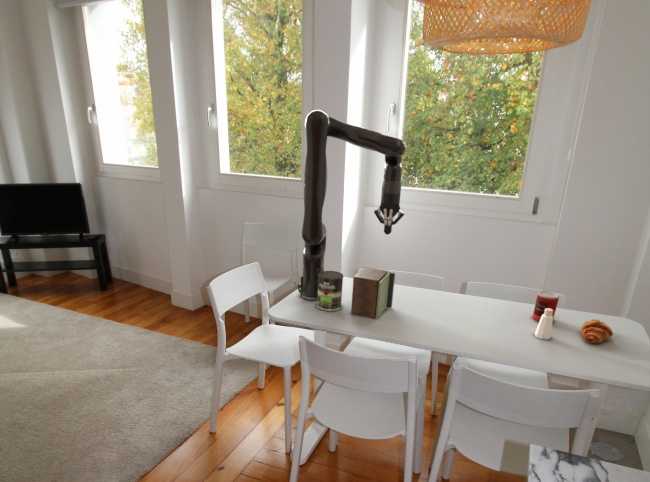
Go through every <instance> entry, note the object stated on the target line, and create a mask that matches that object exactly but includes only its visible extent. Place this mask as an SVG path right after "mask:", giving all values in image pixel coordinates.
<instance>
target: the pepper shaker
mask: <svg viewBox="0 0 650 482" xmlns="http://www.w3.org/2000/svg"><path fill="white" fill-rule="evenodd" d="M552 312H553V310H552V309H550V308H546V309H545V312H544V314H543V315H542V316H541V319H540V321H539V322H538V324H537V327H536V329H535V332H534V336H535V337H536V338H538V339H540V340H546V341H547V340H549V339H551V336H552V329H553V320H554V319H553V316H552Z"/></svg>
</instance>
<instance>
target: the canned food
mask: <svg viewBox="0 0 650 482" xmlns="http://www.w3.org/2000/svg"><path fill="white" fill-rule="evenodd" d="M559 299H560V294H558V293H557V292H554V291H551V290H540V291H538V293H537V296H536V300H535V304H534V309H533V314H532V318H533V320H534V321H536V322H538V323H539V321H540V319H541V316H542V315H543V314H544V312H545V309H546V308H550V309H552V310H553V312H552V316H553V320H554V318H555V315H556V311H557V307H558V303H559Z"/></svg>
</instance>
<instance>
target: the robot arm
mask: <svg viewBox="0 0 650 482" xmlns="http://www.w3.org/2000/svg"><path fill="white" fill-rule="evenodd" d="M304 127H305V134H306V155H305V162H304V171H303V208H304V209H303V211H304V212H303V220H302V230H301V238H302V240H303V242H304V247H303V252H302V275H300V282H299V283H297V291H298V293H299V295H300V296H299V297H300V298H303V300H308V301H318V274H319V273H320V272H323V271H325V256H326V250H327V227H326V225H325V223H323V209H324V205H325V200H326V194H327V189H328V161H327V143H328V137H329V138H335V139H338V140H341V141H344V142H346V143H348V144H351V145H354V146H356V147H359V148H362V149H365V150H367V151H372V152H377V153H378V154H379V153H380V154H382V155H384V169H383V180H382V186H381V196H380V204H379V207H378V208H377V209H375V210H374V211H373V213H374V215H375V216H376V218H377V220H378V221H379V223H380V224H383V232H384V234H385V235H390V234H391V233H392V232H393V231H392V230H393V226H394V225H396V224H398V222H399V221H400V220H401V219H402V218H403V217H404V216H405V215H406V213H405V212H404V211H402V210H401V206H400V202H401V194H402V176H403V165H402V161H403V155H404V154H405V152H406V149H407V147H406V143H405V142H404V141H403V139H400V138H398V137H394V136H390V135H385V134H382V133H381V132H378V131H376V130H373V129H369V128H367V127H363V126H359V125H355V124H352V123H351V124H350V123H346V122H344V121H341V120H338V119H336V118H334V117H332V116H330V115H328V114H327V113H325V112H324V111H323V110H320V109H316V110H315V109H314V110H312V111H311V112H309V113H308V114H307V116H306V118H305V121H304ZM396 215H397V217H396ZM395 217H396V218H395ZM394 218H395V219H394Z"/></svg>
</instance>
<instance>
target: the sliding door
mask: <svg viewBox="0 0 650 482" xmlns="http://www.w3.org/2000/svg"><path fill="white" fill-rule="evenodd" d="M395 279H396V272H393V271H388V274H387V275H386V276H385V277H384V278H383V279H382V280H381V281H380V282H379V286H378V297H377V308H376V318H375V319H379V317H380V316H381V315H382V314H383V313H384V311H385V310H386V309H387V308H388V309H392V307H393V299H394V291H395V290H394V289H395V282H396V281H395Z"/></svg>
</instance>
